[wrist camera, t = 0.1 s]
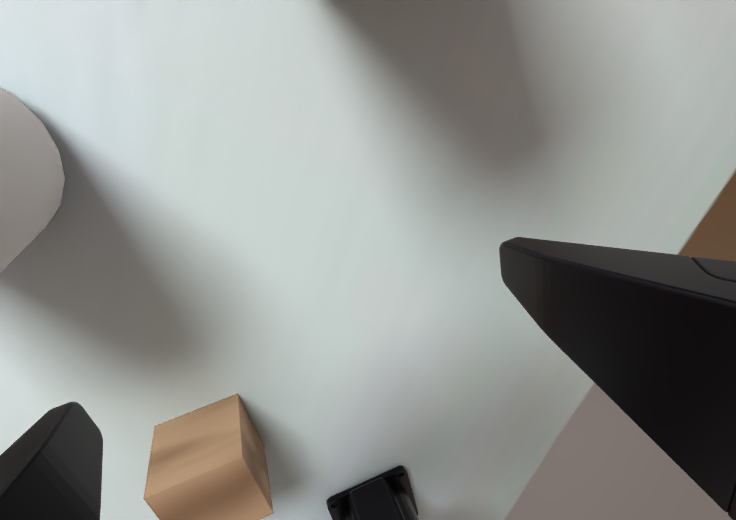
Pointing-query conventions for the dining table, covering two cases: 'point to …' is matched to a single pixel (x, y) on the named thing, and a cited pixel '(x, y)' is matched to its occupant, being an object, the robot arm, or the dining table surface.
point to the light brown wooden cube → (209, 466)
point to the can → (25, 177)
